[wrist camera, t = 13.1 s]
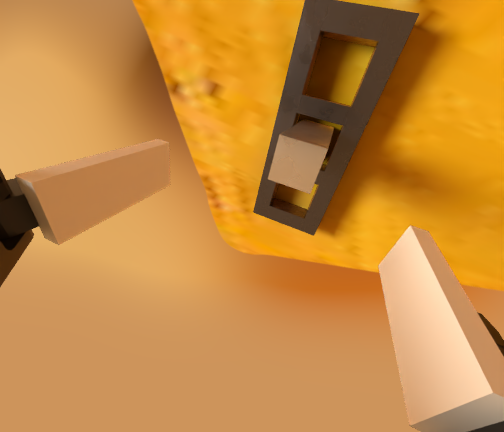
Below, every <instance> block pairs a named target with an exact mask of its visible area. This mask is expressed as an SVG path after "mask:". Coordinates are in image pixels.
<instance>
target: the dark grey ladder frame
mask: <svg viewBox="0 0 504 432" xmlns="http://www.w3.org/2000/svg"><path fill="white" fill-rule="evenodd" d="M418 16H419V13H413V12H406V11H400V10H394V9H387V8H381V7H375V6H368V5H362V4H356V3H349V2H343V1H337V0H305V3H304V7H303V11H302V15H301V19H300V23H299V27H298V31H297V35H296V40H295V44H294V48H293V52H292V56H291V60H290V64H289V68H288V72H287V76H286V80H285V85H284V89H283V93H282V97H281V101H280V105H279V109H278V113H277V117H276V121H275V125H274V129H273V134H272V138H271V142H270V146H269V150H268V154H267V158H266V162H265V166H264V170H263V174H262V179H261V183H260V187H259V191H258V195H257V199H256V203H255V207H254V211H253V212H254V213H256V214H259V215H261V216H264V217H267V218H269V219H272V220H274V221H277V222H280V223H282V224H285V225H287V226H290V227H293V228H295V229H298V230H300V231H303V232H306V233H308V234H311V235H313V236H314V234H315V232H316V230H317V228H318V226H319V224H320V222H321V219H322V217H323V215H324V213H325V211H326V209H327V207H328V205H329V203H330V201H331V198H332V196H333V194H334V192H335V190H336V188H337V186H338V184H339V182H340V180H341V177H342V175H343V173H344V171H345V169H346V167H347V165H348V163H349V161H350V159H351V156H352V154H353V152H354V150H355V148H356V146H357V144H358V142H359V140H360V137H361V135H362V133H363V131H364V129H365V127H366V125H367V123H368V121H369V119H370V116H371V114H372V112H373V110H374V108H375V106H376V104H377V102H378V100H379V98H380V95H381V93H382V91H383V89H384V87H385V85H386V83H387V81H388V79H389V77H390V74H391V72H392V70H393V68H394V66H395V64H396V62H397V60H398V58H399V56H400V53H401V51H402V49H403V47H404V45H405V43H406V41H407V39H408V37H409V34H410V32H411V30H412V28H413V26H414V24H415V22H416V20H417V18H418ZM323 37H326V38H331V39H336V40H341V41H346V42H351V43H356V44H362V45H367V46H372V47H375V49H374V51H373V54H372V56H371V58H370V61H369V63H368V66H367V68H366V70H365V73H364V75H363V78H362V80H361V82H360V85H359V87H358V90H357V92H356V94H355V97H354V99H353V102H352V104H351V106H349V105H345V104H341V103H337V102H333V101H329V100H325V99H321V98H317V97H313V96H309V95H306V91H307V88H308V84H309V81H310V78H311V74H312V71H313V68H314V64H315V61H316V58H317V54H318V51H319V48H320V44H321V41H322V38H323ZM300 114H303V115H306V116H310V117H314V118H317V119H321V120H325V121H328V122H332V123H336V124H339V125H343V126H342V128H341V131H340V133H339V135H338V138H337V140H336V143H335V145H334V147H333V150H332V152H331V155H330V157H329V159H328V162H327V164H326V165H324V164H322V165H321V168H320V170H319V173H318V175H317V178H316V180H315V184H318V186H317V188H316V191H315V193H314V195H313V198H312V200H311V203H310V205H309V207H308V210H307V209H304V208H301V207H299V206H296V205H293V204H290V203H288V202H285V201H282V200H279V199H277V198H275V195H276V191H277V188H278V185H279V183H277V182H274V181H271V180H269V179H268V176H269V172H270V169H271V165H272V161H273V157H274V153H275V150H276V146H277V142H278V138H279V134H281V133H283V132H284V131H286V130H287V129H289V128H291V127H292V126H294V125H296V124H297V121H298V118H299V115H300Z"/></svg>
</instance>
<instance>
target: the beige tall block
mask: <svg viewBox="0 0 504 432" xmlns="http://www.w3.org/2000/svg"><path fill="white" fill-rule="evenodd" d="M333 131H334V127H331V126H327V125H323V124H320V123H316V122H313V121H309V120H305V119H304V120H302V121H300V122H299V123H297V124H296V125H294V126H292V127H291V128H289V129H287V130H286V131H284V132H283V133H281V134H279V138H278V142H277V146H276V150H275V153H274V157H273V161H272V165H271V169H270V172H269V176H268V179H269V180H271V181H274V182H277V183H280V184H283V185H286V186H289V187H292V188H294V189H297V190H300V191H303V192H306V193H309V194H310V193H311V190H312V188H313V185H314V183H315V180H316V178H317V175H318V173H319V170H320V168H321V165H322V163H323V161H324V158H325V156H326V153H327V151H328V148H329V144H330V141H331V137H332V134H333Z"/></svg>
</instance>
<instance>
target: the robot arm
mask: <svg viewBox="0 0 504 432" xmlns="http://www.w3.org/2000/svg"><path fill="white" fill-rule="evenodd" d="M15 177H16V178H15V179H10V180H6V179H5V177H4V175H3V173H2V171H1V169H0V287H1V285H2V283H3V282H4V281H5V279H6V278H7V276H8V275H9V273H10V272H11V270H12V269H13V267H14V266H15V264H16V263H17V261H18V260H19V258H20V257H21V255H22V253H23V252H24V250H25V249H26V248H27V246H28V245H29V243H30V242H31V240H32V239H33V236H34V233H33V232H32V230H31V229H33V228H36V227H38V226H39V227H40V228H41V231H42V233H43V235H44V237H45V238H46V239H48V240H50V241H52V242H54V243H56V244H58V245H60V244H62V243H63V242H65V241H67V240H69V239H71V238H73V237H74V236H76V235H78V234H80V233H82V232H84V231H85V230H88V229H89V228H91V227H93V226H95V225H97V224H99V223H100V222H102V221H104V220H106V219H108V218H110V217H112V216H114V215H116V214H117V213H119V212H121V211H123V210H125V209H127V208H128V207H130V206H132V205H134V204H136V203H138V202H140V201H142V200H143V199H145V198H147V197H149V196H151V195H153V194H155V193H156V192H158V191H160V190H162V189H164V188H166V187H167V186H169V185H170V155H169V143H168V142H166V141H163V140H160V139H156V140H152V141H148V142H144V143H140V144H136V145H132V146H128V147H124V148H120V149H116V150H112V151H108V152H105V153H101V154H97V155H93V156H89V157H85V158H81V159H77V160H73V161H69V162H65V163H61V164H58V165H54V166H49V167H46V168H42V169H38V170H34V171H30V172H26V173H22V174H18V175H15ZM378 267H379V272H380V276H381V282H382V287H383V292H384V297H385V302H386V308H387V313H388V318H389V323H390V328H391V333H392V338H393V343H394V349H395V354H396V359H397V363H398V368H399V374H400V379H401V384H402V390H403V394H404V400H405V405H406V410H407V415H408V420H409V425H410V426H411V427H413V428H415V429H417V430H419V431H421V432H504V340H503V339H502V337H501V336H500V334H499V332H498V331H497V330H496V329H495V328H494V327H493V326H492V325H491V324H490V322H489V321H488V320H487V319H486V318H485V317H484V316H483V315H482V314H480V313H478V312H476V310H475V308H474V307H473V305H472V303H471V301H470V300H469V298H468V296H467V295H466V293H465V292H464V290H463V288H462V286H461V285H460V283H459V281H458V280H457V278H456V276H455V275H454V273H453V271H452V270H451V268H450V266H449V265H448V263H447V262H446V260H445V258H444V257H443V255H442V253H441V252H440V250H439V248H438V247H437V245H436V243H435V242H434V240H433V238H432V237H431V235H430V233H429V232H428V231H426V230H423V229H420V228H417V227H414V226H411V225H410V226H409V228H408V229H407V230H406V231H405V233H404V234H403V235H402V236H401V238H400V239H399V240H398V241H397V243H396V244H395V245H394V247H393V248H392V249H391V250H390V252H389V253H388V254H387V255H386V257H385V258H384V259H383V260H382V262H381V263H380V264H379V266H378Z"/></svg>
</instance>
